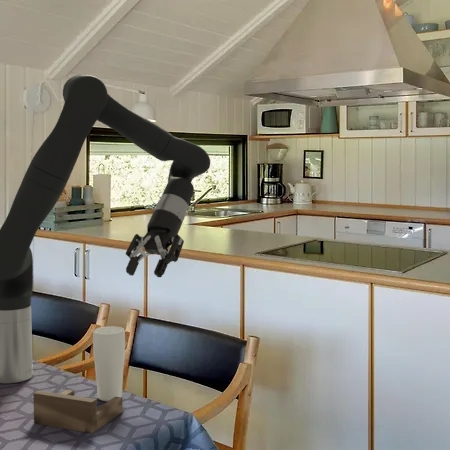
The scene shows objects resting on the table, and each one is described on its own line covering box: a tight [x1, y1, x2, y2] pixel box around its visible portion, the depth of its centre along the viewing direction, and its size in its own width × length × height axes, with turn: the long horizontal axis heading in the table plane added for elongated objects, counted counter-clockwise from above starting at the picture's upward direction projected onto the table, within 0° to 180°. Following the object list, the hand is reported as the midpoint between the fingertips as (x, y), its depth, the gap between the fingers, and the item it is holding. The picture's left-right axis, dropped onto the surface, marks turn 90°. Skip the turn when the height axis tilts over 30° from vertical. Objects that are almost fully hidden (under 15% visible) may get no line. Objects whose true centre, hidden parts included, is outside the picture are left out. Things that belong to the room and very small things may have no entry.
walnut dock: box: [32, 389, 123, 434], centre depth 121 cm, size 11×13×6 cm
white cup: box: [92, 325, 126, 402], centre depth 132 cm, size 7×7×15 cm
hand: (143, 274), depth 140 cm, fingers open, 8 cm apart
